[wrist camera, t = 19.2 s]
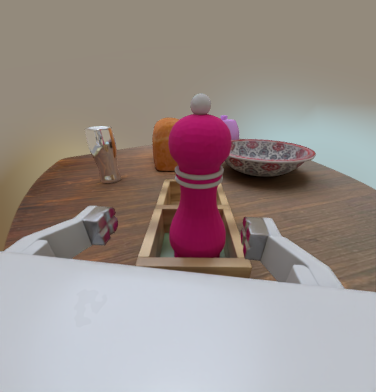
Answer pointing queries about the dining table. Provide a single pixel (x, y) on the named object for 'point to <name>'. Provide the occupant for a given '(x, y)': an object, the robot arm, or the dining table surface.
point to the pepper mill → (198, 181)
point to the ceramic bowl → (266, 157)
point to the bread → (163, 145)
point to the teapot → (231, 127)
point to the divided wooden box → (164, 258)
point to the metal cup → (104, 152)
